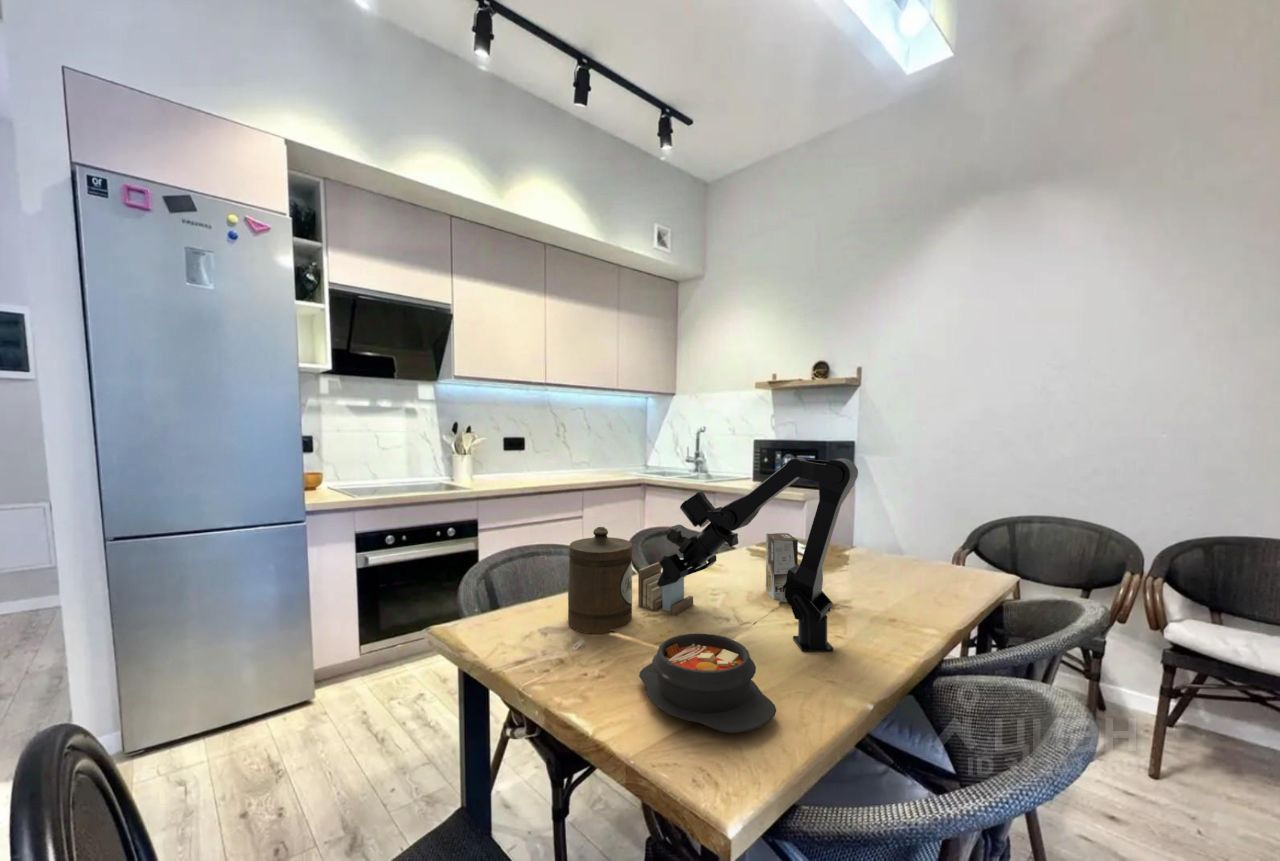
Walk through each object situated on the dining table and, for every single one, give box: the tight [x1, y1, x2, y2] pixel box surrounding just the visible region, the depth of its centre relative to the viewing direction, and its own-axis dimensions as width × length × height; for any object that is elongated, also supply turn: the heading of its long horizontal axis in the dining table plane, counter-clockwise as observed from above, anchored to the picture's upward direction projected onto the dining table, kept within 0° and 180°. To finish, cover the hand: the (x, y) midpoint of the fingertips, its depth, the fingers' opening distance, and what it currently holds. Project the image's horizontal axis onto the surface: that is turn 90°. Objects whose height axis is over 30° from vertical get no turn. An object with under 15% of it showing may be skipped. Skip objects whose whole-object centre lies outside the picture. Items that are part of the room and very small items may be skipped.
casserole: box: [638, 632, 777, 734], centre depth 84 cm, size 25×19×8 cm
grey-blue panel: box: [662, 557, 685, 611], centre depth 125 cm, size 2×6×12 cm, turn 144°
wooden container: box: [567, 526, 633, 635], centre depth 118 cm, size 15×15×22 cm
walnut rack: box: [637, 561, 695, 617], centre depth 126 cm, size 11×9×10 cm
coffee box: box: [765, 532, 799, 603], centre depth 135 cm, size 9×6×16 cm
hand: (668, 580), depth 126 cm, fingers open, 9 cm apart
